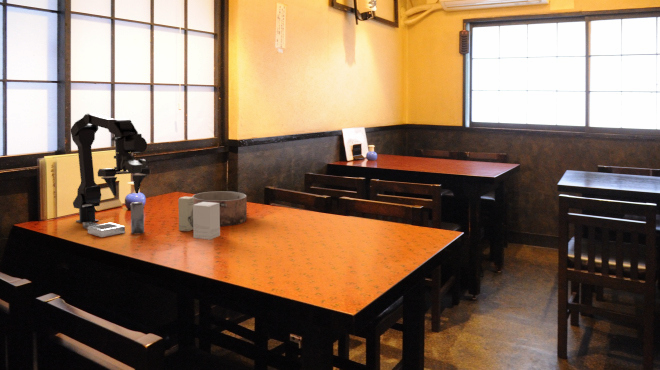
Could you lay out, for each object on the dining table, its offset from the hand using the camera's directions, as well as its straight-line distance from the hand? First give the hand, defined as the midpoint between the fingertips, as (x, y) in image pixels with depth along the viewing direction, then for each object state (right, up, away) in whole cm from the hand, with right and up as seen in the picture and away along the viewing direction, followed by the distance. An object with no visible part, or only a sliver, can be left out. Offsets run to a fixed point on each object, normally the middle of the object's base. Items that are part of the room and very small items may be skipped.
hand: (126, 194), depth 201 cm
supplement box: (+31, -16, -1) cm, 35 cm away
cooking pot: (+30, -12, +26) cm, 42 cm away
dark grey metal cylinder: (+4, -15, +2) cm, 15 cm away
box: (+20, -14, +9) cm, 26 cm away
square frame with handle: (-12, -14, +4) cm, 19 cm away
